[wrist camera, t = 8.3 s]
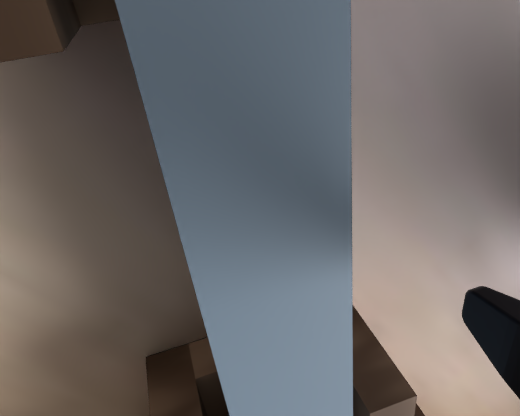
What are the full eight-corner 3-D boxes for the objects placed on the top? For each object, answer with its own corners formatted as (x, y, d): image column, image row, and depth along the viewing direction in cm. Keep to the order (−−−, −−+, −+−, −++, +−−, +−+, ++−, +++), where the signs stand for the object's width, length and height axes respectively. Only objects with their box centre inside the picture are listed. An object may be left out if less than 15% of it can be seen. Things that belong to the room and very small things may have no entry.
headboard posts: (402, -244, 11) (823, -561, 5) (376, 369, 25) (472, 515, 18) (-195, -211, 9) (-1287, -853, 2) (142, 454, 22) (154, 661, 16)
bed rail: (261, -212, 9) (362, -341, 5) (314, 393, 21) (357, 486, 17) (53, -199, 8) (1, -339, 5) (229, 424, 20) (255, 529, 16)
